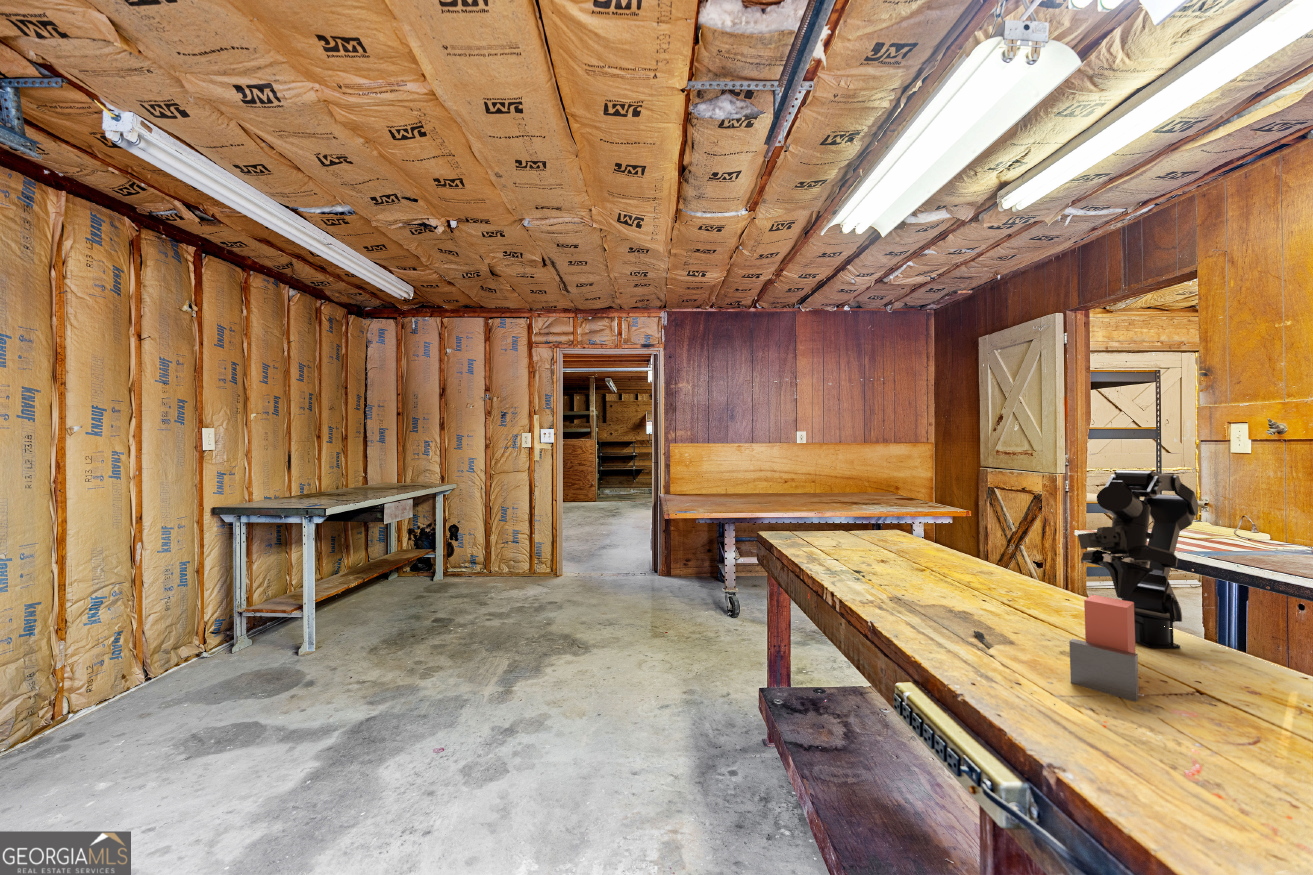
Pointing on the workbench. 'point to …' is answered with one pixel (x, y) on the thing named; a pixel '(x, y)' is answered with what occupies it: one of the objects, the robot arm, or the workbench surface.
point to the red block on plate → (1110, 622)
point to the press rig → (1104, 669)
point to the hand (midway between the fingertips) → (1121, 598)
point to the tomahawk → (983, 639)
